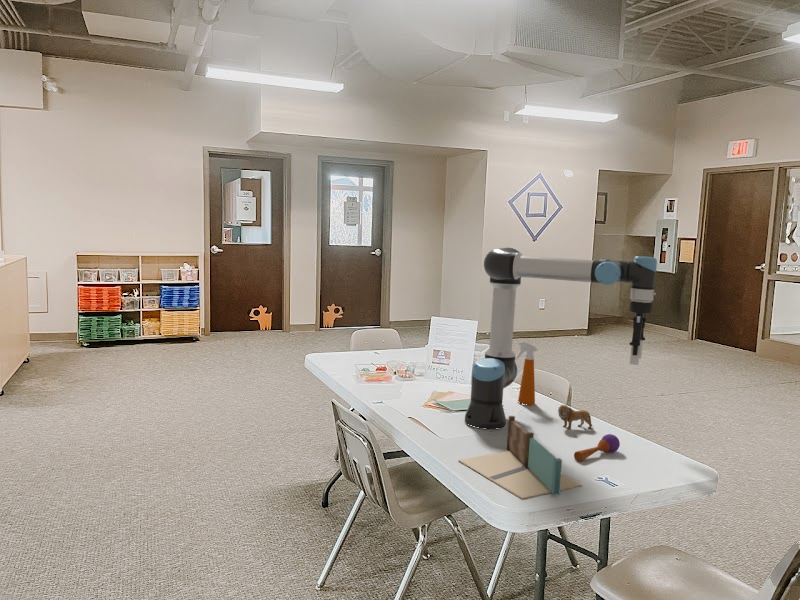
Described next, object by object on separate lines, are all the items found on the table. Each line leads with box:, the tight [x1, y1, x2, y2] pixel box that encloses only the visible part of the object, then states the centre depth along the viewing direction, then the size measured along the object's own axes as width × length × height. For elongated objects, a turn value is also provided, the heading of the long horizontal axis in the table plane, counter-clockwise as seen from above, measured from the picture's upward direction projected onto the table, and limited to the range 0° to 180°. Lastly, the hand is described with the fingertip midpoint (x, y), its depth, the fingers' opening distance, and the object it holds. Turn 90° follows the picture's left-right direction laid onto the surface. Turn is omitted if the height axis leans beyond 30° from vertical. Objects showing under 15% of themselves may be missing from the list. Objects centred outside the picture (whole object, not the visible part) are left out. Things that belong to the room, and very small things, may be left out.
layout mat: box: [457, 450, 583, 500], centre depth 189 cm, size 30×22×1 cm
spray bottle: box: [515, 340, 538, 406], centre depth 263 cm, size 7×11×26 cm, turn 111°
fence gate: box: [528, 437, 563, 495], centre depth 181 cm, size 20×2×10 cm, turn 10°
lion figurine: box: [557, 404, 594, 431], centre depth 235 cm, size 15×5×9 cm, turn 107°
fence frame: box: [506, 415, 535, 468], centre depth 201 cm, size 18×2×11 cm, turn 10°
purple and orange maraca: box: [573, 433, 621, 463], centre depth 207 cm, size 6×6×20 cm
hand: (635, 361), depth 223 cm, fingers open, 13 cm apart
